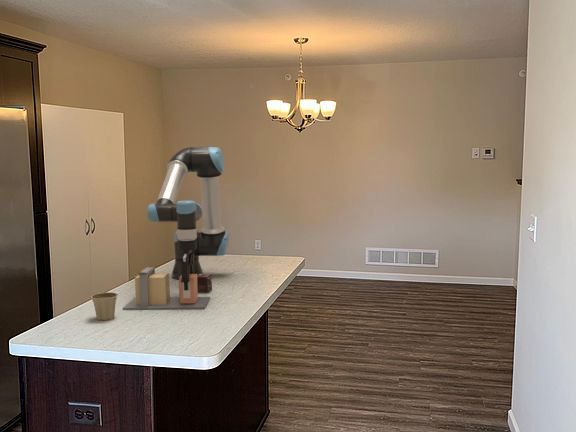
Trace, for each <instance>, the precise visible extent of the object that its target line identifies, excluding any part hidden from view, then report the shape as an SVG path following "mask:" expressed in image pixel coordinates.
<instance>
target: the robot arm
mask: <svg viewBox="0 0 576 432" xmlns="http://www.w3.org/2000/svg"><path fill="white" fill-rule="evenodd" d="M225 167H226V165H225V158H224V154H223V151H222V150H221V148H219V147H218V146H217V147H215V146H214V147H213V146H197V147H195V146H194V147H191V146H188V147H184V148H181V149H180V150H179V151H177V152H176V153H174V154H173V155H172V157H170V159H169V161H168V162H167V166H166V171H167V172H166V175H165V178H164V180H163V184H162V186H161V189H160V192H159V195H158V197H157V200H156V202H155V203H150V204H149V205H148V206H147V212H146V214H147V218H148V220H149V221H150V222H153V223H155V222H156V223H173V222H175V223H176V226H177V227H176V228H177V231H175V234H174V240H173V242H174V265H173V267H172V272H171V278H172V279H174V280H179V277H180V276H181V275H182V280H181V282H183V298H190V282H189V275H190V274H197V275H199V274H204V273H203V269H202V266H201V262H200V257H207V256H208V257H210V256H211V257H219V256H220V257H221V256H225V255H226V254H227V252H228V248H229V239H230V234H229V232H228V231H226V228H225V227H224V225H222V214H221V213H222V212H221V196H220V181H219V178H220V177H221V176H222V173H223V172H224V171H225ZM188 173H196V177H197V178H198V179H199V180H200V192H201V193H200V194H201V204H199V203H198V202H195V200H178V201H177V197H178V195H179V193H180V189H181V186H182V183H183V180H184V177H186V176H187V174H188ZM176 201H177V202H176ZM201 218H202V219H203V227H202V228H201V229H200V231H199V230H198V229H197V221H200V219H201ZM199 256H200V257H199ZM184 278H186V279H184Z"/></svg>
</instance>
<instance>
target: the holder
mask: <svg viewBox="0 0 576 432" xmlns="http://www.w3.org/2000/svg"><path fill="white" fill-rule="evenodd" d="M134 285H135V286H134V287H135V297H133V298H132V299H131V300H130V301H129V302H128V303H127V304H125V305H124V306H123V307H122V311H141V310H142V311H155V310H156V311H157V310H159V311H163V310H170V311H171V310H178V311H179V310H205V309H206V308H207V305H208V304H209V302H210V300H211V296H198V299H197V301H196V302H195V303H180V296H177V297H176V296H175V297H173V296H172V297H171V291H170V273H156V267H155V266H146V267H145V268H144V269H142V270H141V271H140V272H138V275H137V276H135V277H134Z"/></svg>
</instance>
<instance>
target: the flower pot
mask: <svg viewBox="0 0 576 432" xmlns="http://www.w3.org/2000/svg"><path fill="white" fill-rule="evenodd" d="M90 298H91V299H92V302H93V307H94V311H95V315H96V319H97V320H98V321H109V320H108V319H110V320H112V319H114V318H115V317H116V316H115V312H116V304H117V303H116V301H117V299H118V293H117V292H99V293H96V294H93V295H91V296H90Z"/></svg>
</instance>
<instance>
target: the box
mask: <svg viewBox="0 0 576 432" xmlns="http://www.w3.org/2000/svg"><path fill="white" fill-rule="evenodd" d="M212 279H213V278H212V274H211V273H203V274H199V275H197V289H198V293H199V294H208V293H210V292H212V291H213V282H212V281H213V280H212Z"/></svg>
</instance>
